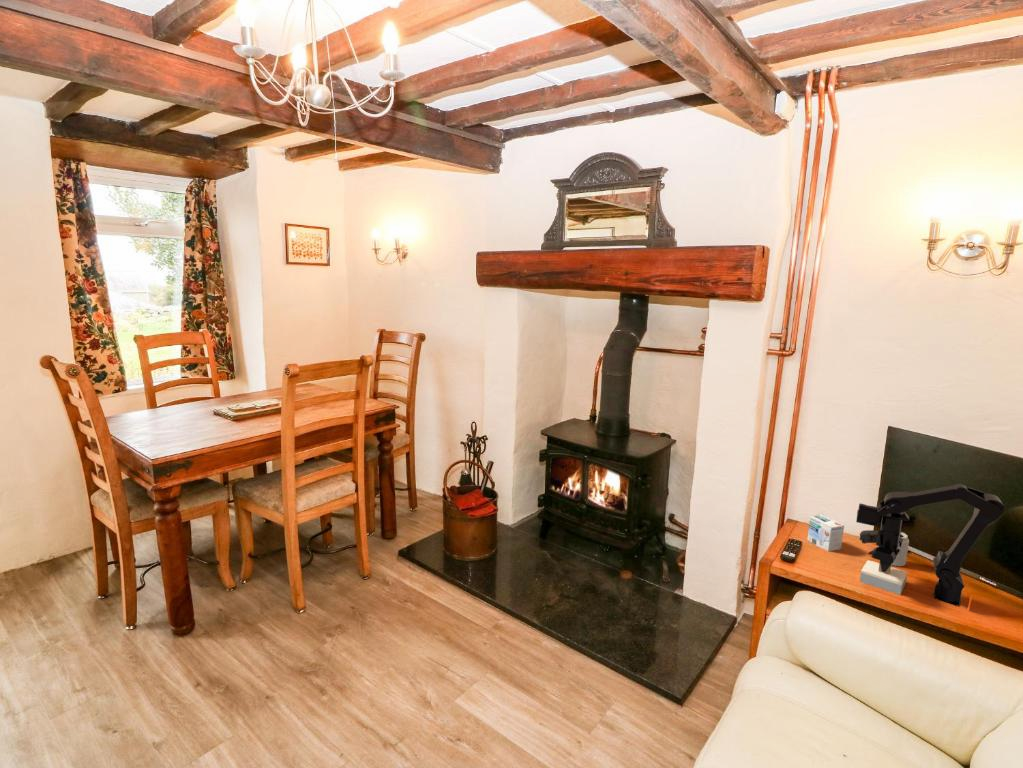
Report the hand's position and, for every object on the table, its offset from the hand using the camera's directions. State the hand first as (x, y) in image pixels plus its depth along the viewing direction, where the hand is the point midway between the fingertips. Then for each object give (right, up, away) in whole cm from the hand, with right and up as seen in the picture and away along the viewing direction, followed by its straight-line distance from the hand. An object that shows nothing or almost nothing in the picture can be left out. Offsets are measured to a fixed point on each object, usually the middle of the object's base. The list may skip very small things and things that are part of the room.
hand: (884, 569), depth 194 cm
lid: (0, -1, 0) cm, 1 cm away
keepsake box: (0, -5, +1) cm, 5 cm away
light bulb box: (-5, 0, +28) cm, 29 cm away
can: (+13, -3, +15) cm, 20 cm away
